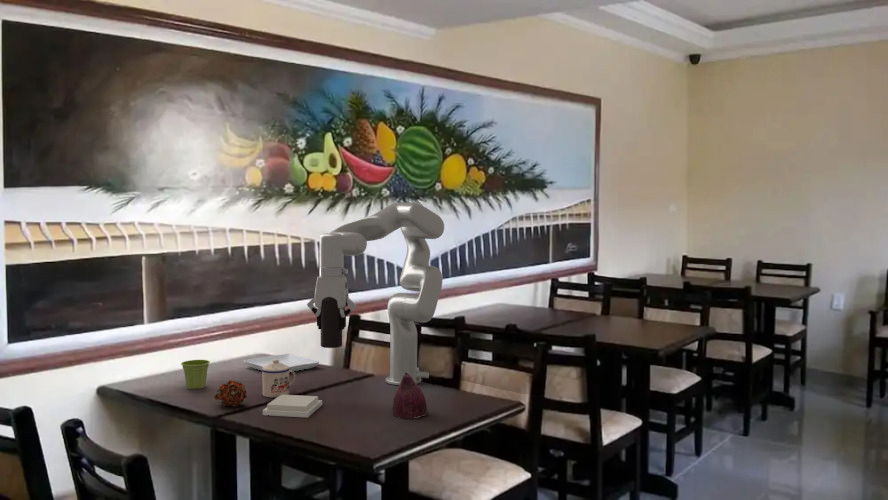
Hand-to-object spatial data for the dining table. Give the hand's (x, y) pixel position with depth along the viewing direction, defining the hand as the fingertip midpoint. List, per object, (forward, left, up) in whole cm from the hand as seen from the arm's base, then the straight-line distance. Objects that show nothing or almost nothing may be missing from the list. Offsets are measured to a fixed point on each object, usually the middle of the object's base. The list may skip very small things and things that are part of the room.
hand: (331, 328), depth 243 cm
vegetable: (-27, +9, -24) cm, 37 cm away
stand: (+9, +11, -24) cm, 28 cm away
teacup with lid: (+20, -7, -24) cm, 32 cm away
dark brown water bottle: (0, 0, -6) cm, 6 cm away
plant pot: (+51, -10, -24) cm, 57 cm away
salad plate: (+33, -43, -24) cm, 60 cm away
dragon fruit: (+30, +9, -24) cm, 39 cm away
